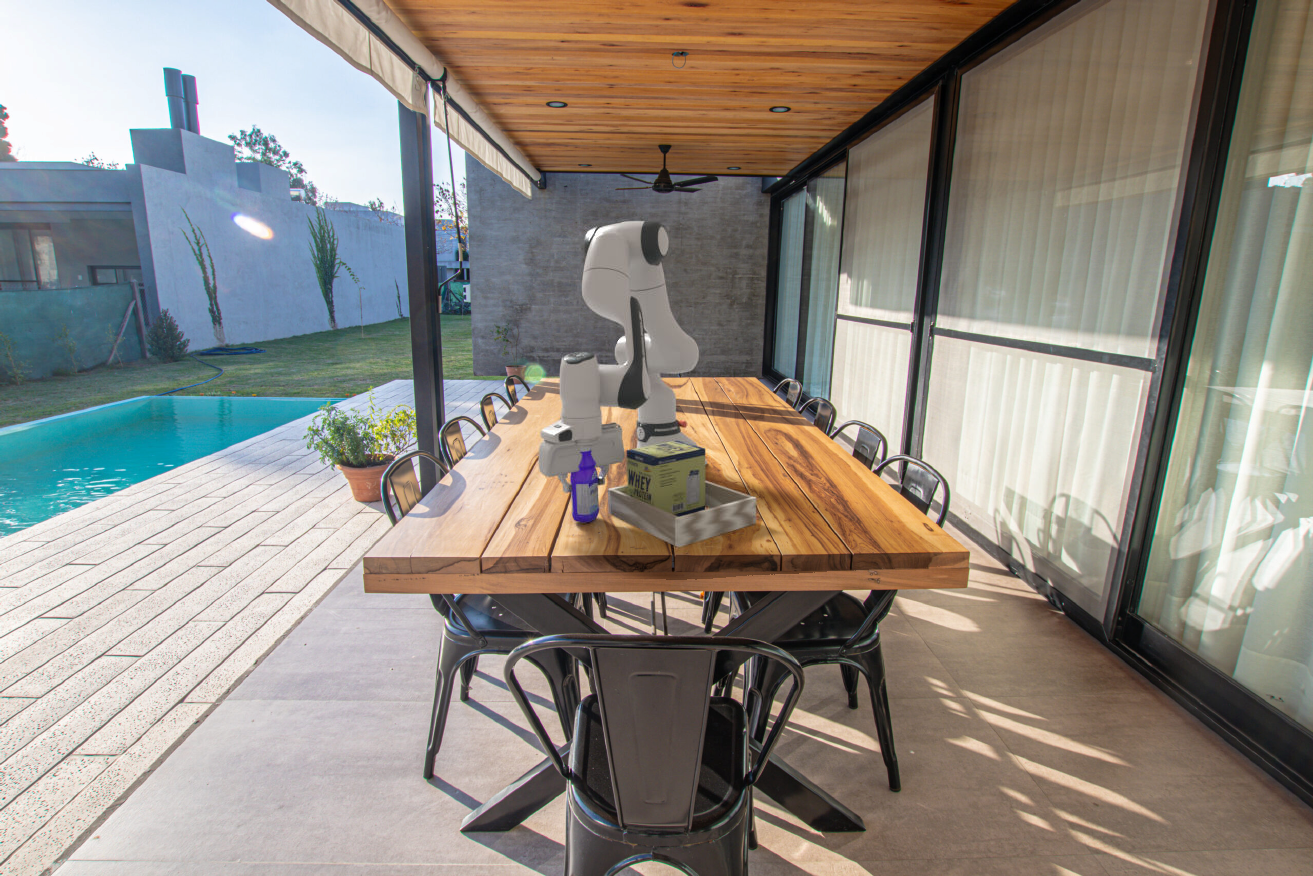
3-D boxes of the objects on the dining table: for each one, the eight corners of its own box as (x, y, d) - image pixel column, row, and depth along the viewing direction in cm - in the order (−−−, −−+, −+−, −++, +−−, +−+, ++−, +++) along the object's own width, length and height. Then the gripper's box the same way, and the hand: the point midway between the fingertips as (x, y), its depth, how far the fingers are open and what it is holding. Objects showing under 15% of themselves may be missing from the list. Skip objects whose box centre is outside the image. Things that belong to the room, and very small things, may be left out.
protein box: (626, 514, 149) (625, 449, 145) (678, 500, 158) (678, 439, 155) (653, 526, 141) (652, 458, 137) (706, 511, 150) (707, 447, 146)
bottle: (593, 524, 140) (590, 448, 136) (568, 523, 142) (564, 447, 138) (602, 513, 147) (599, 440, 143) (578, 512, 149) (575, 439, 145)
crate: (681, 495, 162) (681, 472, 161) (755, 523, 142) (756, 497, 140) (608, 513, 149) (607, 489, 148) (678, 547, 129) (678, 519, 128)
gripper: (613, 419, 148) (615, 476, 151) (533, 431, 136) (537, 493, 139) (629, 423, 143) (630, 482, 146) (547, 437, 131) (550, 500, 135)
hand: (584, 488), depth 143 cm, fingers closed on bottle, 7 cm apart
